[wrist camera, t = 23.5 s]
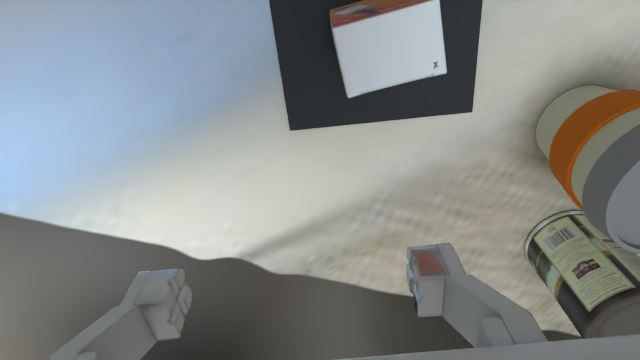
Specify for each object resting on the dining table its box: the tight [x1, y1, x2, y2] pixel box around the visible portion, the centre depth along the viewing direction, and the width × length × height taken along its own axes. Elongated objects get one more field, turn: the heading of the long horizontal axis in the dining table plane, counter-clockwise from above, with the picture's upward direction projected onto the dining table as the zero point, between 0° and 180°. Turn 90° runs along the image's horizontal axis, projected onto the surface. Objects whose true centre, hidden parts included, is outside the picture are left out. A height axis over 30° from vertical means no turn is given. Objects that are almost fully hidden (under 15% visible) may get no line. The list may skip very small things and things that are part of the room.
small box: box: [330, 0, 447, 98], centre depth 33 cm, size 8×6×10 cm
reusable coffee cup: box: [536, 85, 640, 254], centre depth 37 cm, size 13×13×15 cm
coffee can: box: [525, 211, 640, 339], centre depth 45 cm, size 10×10×14 cm
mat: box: [269, 0, 482, 131], centre depth 38 cm, size 20×20×1 cm
